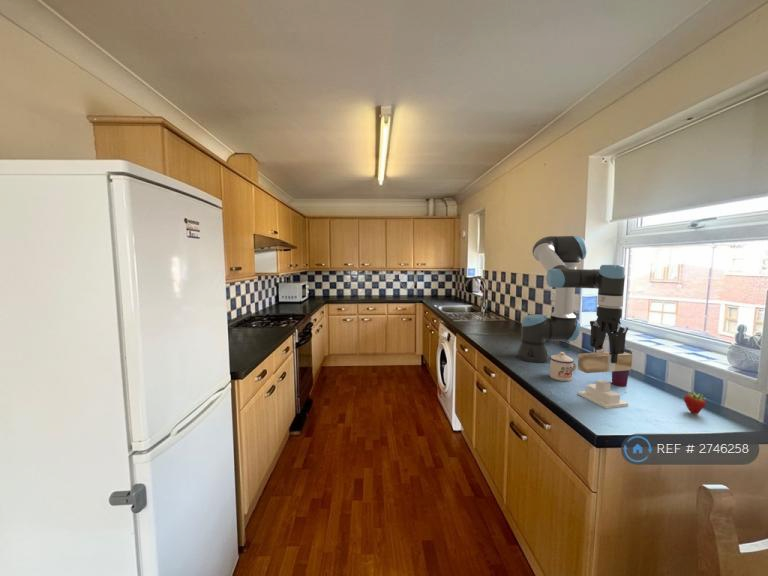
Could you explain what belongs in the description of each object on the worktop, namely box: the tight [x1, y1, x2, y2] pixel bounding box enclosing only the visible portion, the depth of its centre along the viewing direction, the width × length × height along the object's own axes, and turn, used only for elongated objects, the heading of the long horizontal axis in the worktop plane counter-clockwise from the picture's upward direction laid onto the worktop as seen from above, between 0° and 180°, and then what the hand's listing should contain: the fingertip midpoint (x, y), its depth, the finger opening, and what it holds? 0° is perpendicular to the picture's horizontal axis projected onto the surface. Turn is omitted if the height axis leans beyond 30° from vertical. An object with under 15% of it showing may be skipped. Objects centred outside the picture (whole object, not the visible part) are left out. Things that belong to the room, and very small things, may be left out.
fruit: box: [683, 390, 707, 415], centre depth 107 cm, size 5×5×8 cm
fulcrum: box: [577, 379, 629, 409], centre depth 117 cm, size 12×10×7 cm
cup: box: [611, 348, 633, 388], centre depth 132 cm, size 7×7×15 cm
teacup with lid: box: [549, 351, 577, 382], centre depth 139 cm, size 12×9×12 cm
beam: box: [577, 351, 633, 374], centre depth 115 cm, size 4×20×6 cm, turn 103°
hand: (604, 368), depth 116 cm, fingers closed on beam, 4 cm apart
